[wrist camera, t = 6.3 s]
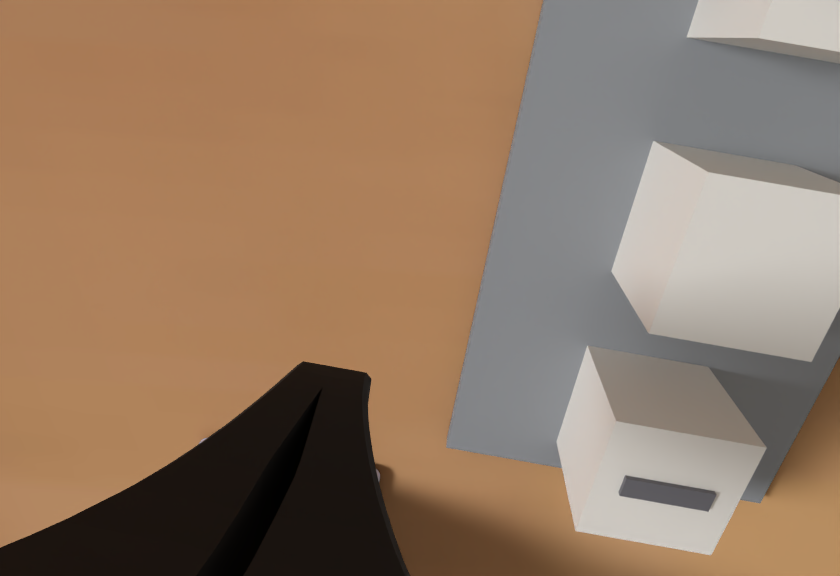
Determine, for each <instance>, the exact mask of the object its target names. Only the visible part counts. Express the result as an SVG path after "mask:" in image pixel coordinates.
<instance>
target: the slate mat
mask: <svg viewBox="0 0 840 576" xmlns="http://www.w3.org/2000/svg"><path fill="white" fill-rule="evenodd" d="M697 3H698V0H543V4H542V9H541V13H540V18H539V22H538V27H537V31H536V36H535V40H534V45H533V50H532V54H531V59H530V63H529V68H528V72H527V77H526V81H525V86H524V90H523V95H522V100H521V104H520V109H519V113H518V118H517V122H516V127H515V131H514V136H513V140H512V145H511V150H510V154H509V159H508V163H507V168H506V172H505V177H504V181H503V186H502V190H501V195H500V200H499V204H498V209H497V213H496V218H495V222H494V227H493V231H492V236H491V240H490V245H489V250H488V254H487V259H486V263H485V268H484V272H483V277H482V281H481V286H480V290H479V295H478V300H477V304H476V309H475V313H474V318H473V322H472V327H471V331H470V336H469V340H468V345H467V350H466V354H465V359H464V363H463V368H462V372H461V377H460V381H459V386H458V390H457V395H456V400H455V404H454V409H453V413H452V418H451V422H450V427H449V431H448V436H447V447H446V448H452V449H458V450H463V451H469V452H475V453H480V454H486V455H491V456H497V457H503V458H508V459H514V460H520V461H525V462H531V463H536V464H542V465H548V466H553V467H559V468H562V465H561V461H560V456H559V451H558V447H557V442H556V441H557V438H558V435H559V432H560V429H561V426H562V423H563V420H564V417H565V413H566V410H567V407H568V404H569V401H570V398H571V395H572V392H573V389H574V386H575V382H576V379H577V376H578V373H579V370H580V367H581V364H582V361H583V358H584V354H585V351H586V348H587V346H593V347H598V348H604V349H610V350H615V351H621V352H627V353H632V354H638V355H644V356H650V357H655V358H661V359H667V360H672V361H678V362H684V363H689V364H695V365H701V366H706V367H709V368H710V370H711V371H712V373H713V374H714V375H715V377H716V378H717V380H718V381H719V382H720V384H721V385H722V386H723V388H724V389H725V391H726V392H727V393H728V395H729V396H730V398H731V399H732V400H733V402H734V403H735V404H736V406H737V407H738V409H739V410H740V411H741V413H742V414H743V416H744V417H745V418H746V420H747V421H748V422H749V424H750V425H751V427H752V428H753V429H754V431H755V432H756V434H757V435H758V436H759V438H760V439H761V440H762V442H763V443H764V445H765V446H766V447H767V449H766V450H765V452H764V454H763V456H762V458H761V460H760V462H759V464H758V466H757V468H756V470H755V472H754V474H753V476H752V477H751V479H750V481H749V483H748V485H747V487H746V489H745V491H744V493H743V495H742V497H741V499H740V500H744V501H750V502H756V503H761V501H762V499H763V497H764V495H765V493H766V491H767V490H768V488H769V486H770V484H771V482H772V480H773V479H774V477H775V475H776V473H777V471H778V469H779V467H780V466H781V464H782V462H783V460H784V458H785V456H786V454H787V453H788V451H789V449H790V447H791V445H792V443H793V442H794V440H795V438H796V436H797V434H798V432H799V430H800V429H801V427H802V425H803V423H804V421H805V419H806V418H807V416H808V414H809V412H810V410H811V408H812V406H813V405H814V403H815V401H816V399H817V397H818V395H819V393H820V392H821V390H822V388H823V386H824V384H825V382H826V381H827V379H828V377H829V375H830V373H831V371H832V369H833V368H834V366H835V364H836V362H837V360H838V358H839V357H840V308H839V310H838V312H837V314H836V316H835V318H834V320H833V321H832V323H831V325H830V327H829V329H828V331H827V333H826V335H825V337H824V339H823V341H822V343H821V345H820V347H819V348H818V350H817V352H816V354H815V356H814V358H813V360H812V362H808V361H803V360H797V359H791V358H785V357H780V356H774V355H768V354H763V353H757V352H751V351H746V350H740V349H734V348H728V347H723V346H717V345H711V344H706V343H700V342H694V341H689V340H683V339H677V338H671V337H666V336H660V335H654V334H649V333H648V332H647V330H646V328H645V327H644V325H643V323H642V322H641V320H640V318H639V317H638V315H637V313H636V312H635V310H634V308H633V307H632V305H631V303H630V302H629V300H628V298H627V297H626V295H625V293H624V292H623V290H622V288H621V287H620V285H619V283H618V282H617V280H616V278H615V277H614V275H613V273H612V272H611V271H612V267H613V264H614V261H615V258H616V255H617V252H618V249H619V246H620V243H621V239H622V236H623V233H624V230H625V227H626V224H627V221H628V218H629V215H630V212H631V208H632V205H633V202H634V199H635V196H636V193H637V190H638V187H639V184H640V180H641V177H642V174H643V171H644V168H645V165H646V162H647V159H648V156H649V153H650V149H651V146H652V143H653V141H658V142H663V143H669V144H675V145H681V146H687V147H692V148H698V149H704V150H710V151H716V152H721V153H727V154H733V155H739V156H745V157H750V158H756V159H762V160H768V161H774V162H779V163H785V164H791V165H796V166H799V167H801V168H804V169H806V170H809V171H811V172H814V173H816V174H819V175H821V176H824V177H826V178H829V179H831V180H834V181H836V182H839V183H840V64H839V63H833V62H828V61H822V60H816V59H810V58H804V57H798V56H792V55H787V54H781V53H775V52H769V51H763V50H757V49H752V48H746V47H740V46H734V45H728V44H722V43H716V42H711V41H705V40H699V39H693V38H687V34H688V31H689V28H690V25H691V22H692V19H693V16H694V13H695V10H696V6H697Z"/></svg>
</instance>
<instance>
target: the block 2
mask: <svg viewBox="0 0 840 576" xmlns="http://www.w3.org/2000/svg"><path fill="white" fill-rule="evenodd" d="M687 38H693V39H699V40H705V41H711V42H716V43H722V44H728V45H734V46H740V47H746V48H752V49H757V50H763V51H769V52H775V53H781V54H787V55H792V56H798V57H804V58H810V59H816V60H822V61H828V62H833V63H839V64H840V0H698V3H697V6H696V10H695V13H694V16H693V19H692V22H691V25H690V28H689V31H688V34H687Z"/></svg>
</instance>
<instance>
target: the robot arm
mask: <svg viewBox="0 0 840 576" xmlns="http://www.w3.org/2000/svg"><path fill="white" fill-rule="evenodd" d="M370 385H371V378H370V377H369V375H368V374H367V373H365V372H359V371H354V370H348V369H342V368H337V367H331V366H326V365H320V364H315V363H309V362H302V363H300V364H299V365H297V366H296V367H295V368H294V369H293V370H291V371H290V372H289V373H288V374H287V375H286V376H285V377H284V378H283V379H281V380H280V381H279V382H278V383H277V384H276V385H275V386H273V387H272V388H271V389H270V390H269V391H268V392H266V393H265V394H264V395H263V396H262V397H260V398H259V399H258V400H257V401H256V402H254V403H253V404H252V405H251V406H249V407H248V408H247V409H246V410H244V411H243V412H242V413H241V414H239V415H238V416H237V417H235V418H234V419H233V420H232V421H230V422H229V423H228V424H226V425H225V426H224V427H222V428H221V429H219V430H218V431H217V432H215V433H214V434H212V435H211V436H210V437H208V438H204V439H202V440H201V441H200V443H199V444H198V445H197V446H196V447H194V448H193V449H191V450H190V451H188V452H187V453H185V454H184V455H182V456H181V457H179V458H178V459H176V460H175V461H173V462H171V463H170V464H168V465H167V466H165V467H163V468H162V469H160V470H158V471H157V472H155V473H153V474H152V475H150V476H148V477H147V478H145V479H143V480H142V481H140V482H138V483H136V484H135V485H133V486H131V487H129V488H127V489H125V490H123V491H122V492H120V493H118V494H116V495H114V496H112V497H110V498H108V499H106V500H104V501H102V502H100V503H98V504H96V505H94V506H92V507H90V508H88V509H86V510H84V511H82V512H80V513H78V514H76V515H74V516H72V517H70V518H68V519H66V520H63V521H61V522H59V523H57V524H55V525H52V526H50V527H48V528H46V529H43V530H41V531H39V532H37V533H34V534H32V535H30V536H27V537H25V538H23V539H20V540H18V541H15V542H13V543H10V544H8V545H6V546H3V547H1V548H0V576H410V575H409V572H408V570H407V568H406V565H405V563H404V561H403V558H402V555H401V552H400V550H399V547H398V544H397V541H396V539H395V536H394V533H393V530H392V527H391V524H390V521H389V517H388V514H387V511H386V508H385V504H384V501H383V497H382V493H381V489H380V485H379V481H380V473H379V471H378V470H377V469H376V468H375V462H374V457H373V451H372V445H371V438H370V431H369V421H368V399H369V392H370Z"/></svg>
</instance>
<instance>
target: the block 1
mask: <svg viewBox="0 0 840 576" xmlns="http://www.w3.org/2000/svg"><path fill="white" fill-rule="evenodd" d="M556 442H557V447H558V451H559V456H560V461H561V465H562V470H563V475H564V479H565V484H566V489H567V493H568V498H569V503H570V507H571V512H572V517H573V521H574V526H575V531H579V532H584V533H590V534H595V535H601V536H607V537H612V538H618V539H623V540H629V541H635V542H640V543H646V544H651V545H657V546H662V547H668V548H674V549H679V550H685V551H690V552H696V553H702V554H707V555H711V554H712V553H713V551H714V549H715V547H716V545H717V543H718V541H719V539H720V537H721V535H722V533H723V531H724V529H725V528H726V526H727V524H728V522H729V520H730V518H731V516H732V514H733V512H734V510H735V508H736V506H737V504H738V502H739V501H740V499H741V497H742V495H743V493H744V491H745V489H746V487H747V485H748V483H749V481H750V479H751V477H752V476H753V474H754V472H755V470H756V468H757V466H758V464H759V462H760V460H761V458H762V456H763V454H764V452H765V450H766V449H767V447H766V446H765V445H764V443H763V442H762V440H761V439H760V438H759V436H758V435H757V434H756V432H755V431H754V429H753V428H752V427H751V425H750V424H749V422H748V421H747V420H746V418H745V417H744V416H743V414H742V413H741V411H740V410H739V409H738V407H737V406H736V404H735V403H734V402H733V400H732V399H731V398H730V396H729V395H728V393H727V392H726V391H725V389H724V388H723V386H722V385H721V384H720V382H719V381H718V380H717V378H716V377H715V375H714V374H713V373H712V371H711V370H710V368H709V367H706V366H701V365H695V364H689V363H684V362H678V361H672V360H667V359H661V358H655V357H650V356H644V355H638V354H632V353H627V352H621V351H615V350H610V349H604V348H598V347H593V346H587V348H586V351H585V354H584V358H583V361H582V364H581V367H580V370H579V373H578V376H577V379H576V382H575V386H574V389H573V392H572V395H571V398H570V401H569V404H568V407H567V410H566V413H565V417H564V420H563V423H562V426H561V429H560V432H559V435H558V438H557V441H556Z"/></svg>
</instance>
